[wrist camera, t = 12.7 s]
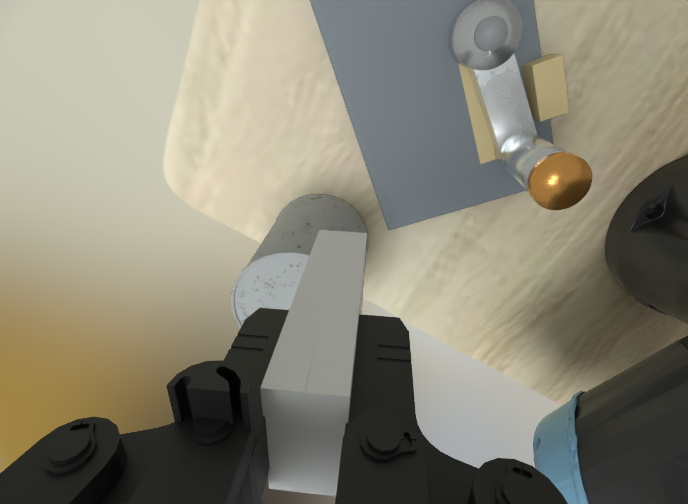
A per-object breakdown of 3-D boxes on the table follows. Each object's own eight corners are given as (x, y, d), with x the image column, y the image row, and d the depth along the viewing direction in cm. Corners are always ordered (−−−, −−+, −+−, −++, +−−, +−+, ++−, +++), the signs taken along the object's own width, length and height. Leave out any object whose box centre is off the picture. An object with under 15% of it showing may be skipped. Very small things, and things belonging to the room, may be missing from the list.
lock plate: (560, 174, 34) (588, 194, 30) (388, 225, 38) (388, 250, 33) (512, -179, 25) (542, -234, 20) (289, -66, 29) (269, -90, 24)
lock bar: (440, 20, 29) (463, 7, 20) (500, -13, 28) (553, -42, 19) (493, 177, 34) (531, 221, 25) (547, 155, 32) (606, 193, 24)
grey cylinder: (353, 290, 42) (341, 375, 31) (266, 266, 42) (223, 342, 31) (380, 209, 38) (378, 275, 27) (283, 181, 37) (240, 235, 26)
